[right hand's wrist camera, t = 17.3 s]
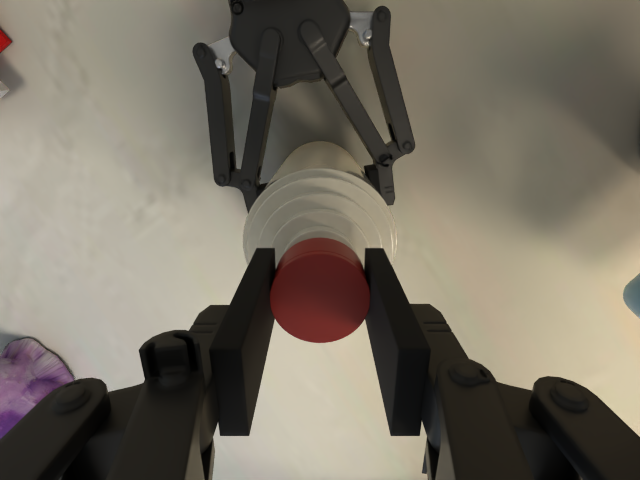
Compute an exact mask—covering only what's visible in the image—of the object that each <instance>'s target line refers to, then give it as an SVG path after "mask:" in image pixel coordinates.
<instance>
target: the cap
mask: <svg viewBox="0 0 640 480" xmlns="http://www.w3.org/2000/svg"><path fill="white" fill-rule="evenodd" d="M369 305H370V289H369V286H368V282H367V279H366V275H365V271H364V268H363V265H362V263H361V260H360V259H359V257H358V256H357V254H356V253H355V252H354V251H353V250H352V249H351V248H350V247H348V246H347V245H345V244H344V243H342V242H340V241H337V240H334V239H330V238H322V237H321V238H310V239H306V240H303V241H301V242H298V243H297V244H295V245H293V246H292V247H291V248H289V249H288V250H287V251H286V252H285V253H284V254H283V256H282V257H281V259H280V261H279V262H278V265H277V268H276V271H275V275H274V278H273V282H272V285H271V290H270V306H271V311H272V313H273V316H274V317H275V319H276V321H277V322H278V323H279V325H280V326H281V327H282V328H283V329H284V330H285V331H286V332H288V333H289V334H291V335H292V336H294V337H296V338H298V339H301V340H304V341H308V342H314V343H326V342H332V341H336V340H339V339H342V338H344V337H346V336H348V335H349V334H351V333H352V332H354V331H355V330H356V329H357V328H358V327H359V326H360V325H361V324H362V322H363V321H364V319H365V317H366V315H367V313H368V310H369Z"/></svg>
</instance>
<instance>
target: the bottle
mask: <svg viewBox="0 0 640 480" xmlns="http://www.w3.org/2000/svg"><path fill="white" fill-rule="evenodd" d="M321 237H322V238H330V239H334V240H337V241H340V242H342V243H344V244H345V245H347V246H348V247H350V248H351V249H352V250H353V251H354V252H355V253H356V254H357V256H358V257H359V259H360V260H361V263H362V265H363V268H364V259H365V248H384V250H385V252H386V255H387V257H388V259H389V261H390V263H391V265H393V262H394V258H395V255H396V249H397V232H396V226H395V222H394V219H393V216H392V214H391V211H390V209H389V207H388V206H387V204H386V202H385V201H384V199H383V198H382V197H381V195H380V194H379V193H378V191H377V190H376V188H375V187H374V186H373V184H372V183H371V182H370V180H369V179H368V178H367V176H366V175H365V173H364V172H363V171H362V169H361V168H360V167H359V165H358V164H357V163H356V161H355V160H354V159H353V157H352V156H351V155H350V154H349V153H348V152H347V151H346V150H345V149H343V148H342V147H340V146H338V145H336V144H334V143H331V142H326V141H314V142H309V143H306V144H304V145H302V146H300V147H298V148H297V149H295V150H294V151H293V152H292V153H291V154H290V155H289V156H288V157H287V158H286V160H285V161H284V163H283V164H282V165H281V167H280V168H279V169H278V171H277V172H276V173H275V175H274V176H273V178H272V179H271V180H270V182H269V183H268V184H267V186H266V187H265V188H264V190H263V191H262V192H261V194H260V195H259V197H258V198H257V199H256V201H255V202H254V204H253V206H252V207H251V209H250V211H249V214H248V216H247V219H246V222H245V226H244V232H243V248H244V255H245V258H246V262H247V265H249V263H250V261H251V259H252V256H253V254H254V252H255V250H256V248H275V263H276V268H277V265H278V262H279V261H280V259H281V257H282V256H283V254H284V253H285V252H286V251H287V250H288V249H289V248H291V247H292V246H293V245H295V244H297V243H298V242H301V241H303V240H306V239H310V238H321Z"/></svg>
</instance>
